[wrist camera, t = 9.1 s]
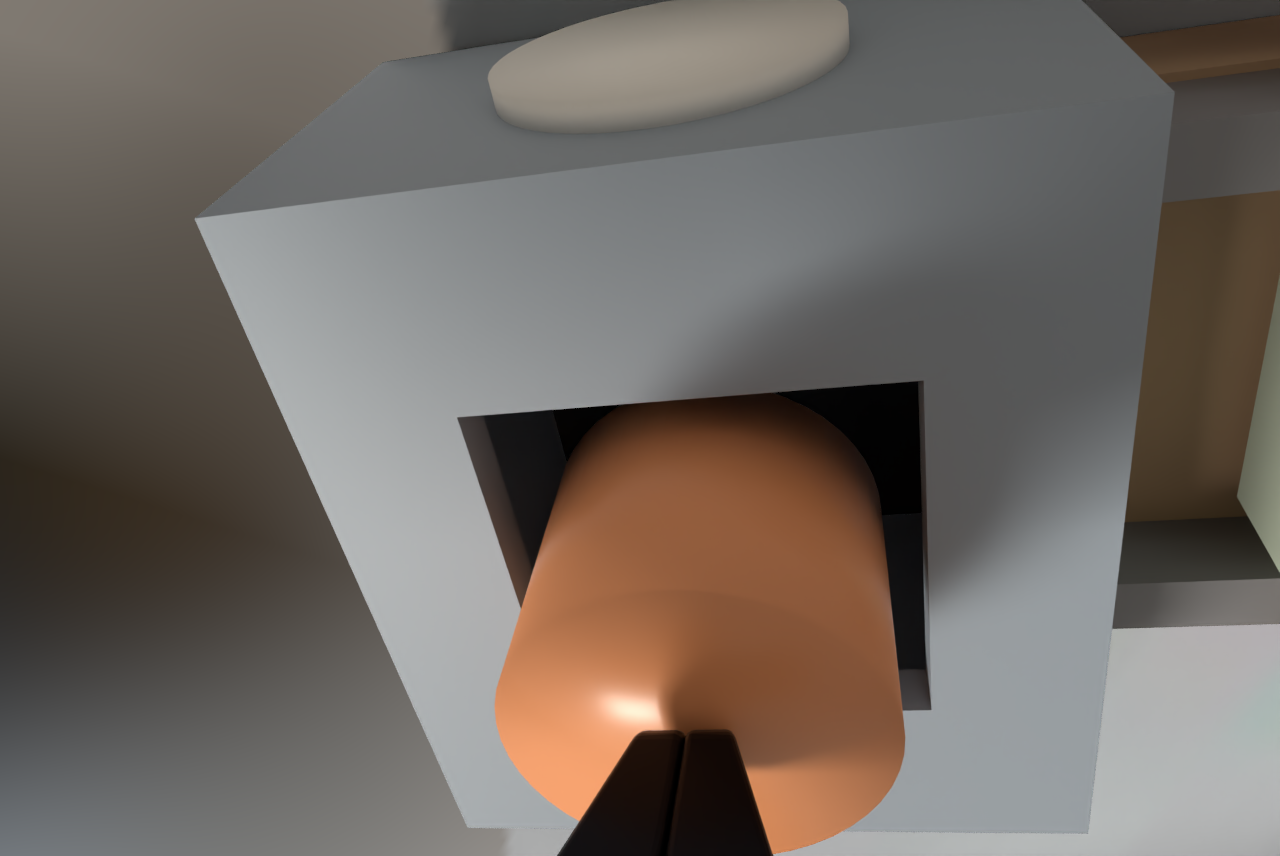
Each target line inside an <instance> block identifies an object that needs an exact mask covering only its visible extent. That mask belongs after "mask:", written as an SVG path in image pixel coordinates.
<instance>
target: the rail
mask: <svg viewBox="0 0 1280 856" xmlns="http://www.w3.org/2000/svg"><path fill="white" fill-rule="evenodd" d="M1120 38H1121V39H1122V40H1123V41H1124V42H1125V43H1126V44H1127V45H1128V46H1129V47H1130V48H1131V49H1132V50H1133V51H1134V52H1135V53H1136V54H1137V55H1138V56H1139V57H1140V58H1141V59H1142V60H1143V61H1144V62H1145V63H1146V64H1147V65H1148V66H1149V67H1150V68H1151V69H1152V70H1153V71H1154V72H1155V73H1156V74H1157V75H1158V76H1159V77H1160V78H1161V79H1162V80H1163V81H1164V82H1165V83H1166V84H1167V85H1168V86H1169V87H1170V88H1171V89H1172V90H1173V91H1174V92H1175V95H1174V103H1173V112H1172V120H1171V129H1170V137H1169V146H1168V155H1167V163H1166V172H1165V180H1164V189H1163V197H1162V206H1161V214H1160V223H1159V231H1158V240H1157V249H1156V257H1155V266H1154V274H1153V283H1152V291H1151V300H1150V308H1149V317H1148V325H1147V334H1146V343H1145V351H1144V360H1143V368H1142V377H1141V385H1140V394H1139V402H1138V411H1137V420H1136V428H1135V437H1134V445H1133V454H1132V462H1131V471H1130V479H1129V488H1128V496H1127V505H1126V514H1125V522H1124V531H1123V539H1122V548H1121V556H1120V565H1119V573H1118V582H1117V590H1116V599H1115V608H1114V616H1113V625H1112V629H1120V628H1154V627H1188V626H1222V625H1256V624H1280V572H1279V570H1278V569H1277V567H1276V565H1275V563H1274V562H1273V560H1272V558H1271V556H1270V555H1269V553H1268V551H1267V549H1266V547H1265V546H1264V544H1263V542H1262V540H1261V539H1260V537H1259V535H1258V533H1257V531H1256V530H1255V528H1254V526H1253V524H1252V523H1251V521H1250V519H1249V517H1248V516H1247V514H1246V512H1245V510H1244V508H1243V507H1242V505H1241V503H1240V501H1239V500H1238V498H1237V493H1238V488H1239V483H1240V478H1241V473H1242V468H1243V462H1244V457H1245V452H1246V447H1247V442H1248V436H1249V431H1250V426H1251V421H1252V416H1253V411H1254V405H1255V400H1256V395H1257V390H1258V385H1259V380H1260V374H1261V369H1262V364H1263V359H1264V354H1265V349H1266V343H1267V338H1268V333H1269V328H1270V323H1271V318H1272V312H1273V307H1274V302H1275V297H1276V292H1277V287H1278V281H1279V276H1280V15H1277V16H1269V17H1262V18H1255V19H1248V20H1241V21H1234V22H1227V23H1220V24H1213V25H1205V26H1198V27H1191V28H1184V29H1177V30H1170V31H1163V32H1156V33H1149V34H1141V35H1134V36H1127V37H1120Z"/></svg>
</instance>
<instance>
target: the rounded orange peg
mask: <svg viewBox="0 0 1280 856" xmlns="http://www.w3.org/2000/svg"><path fill="white" fill-rule="evenodd" d="M494 707H495V718H496V725H497V729H498V732H499V735H500V739H501V742H502V744H503V746H504V748H505V750H506V752H507V754H508V756H509V758H510V759H511V761H512V762H513V764H514V765H515V767H516V768H517V769H518V771H519V772H520V774H521V775H522V776H523V777H524V778H525V779H526V780H527V781H528V782H529V784H530V785H531V786H532V787H533V788H534V789H535V790H536V791H538V792H539V793H540V794H541V795H542V796H543V797H544V798H546V799H547V800H548V801H549V802H550V803H552V804H553V805H555V806H556V807H557V808H559V809H560V810H562V811H563V812H565V813H566V814H568V815H569V816H571V817H573V818H575V819H576V820H578V821H580V820H581V818H582V816H583V815H584V813H585V812H586V810H587V809H588V807H589V806H590V804H591V803H592V801H593V799H594V798H595V796H596V795H597V793H598V792H599V790H600V789H601V787H602V786H603V784H604V782H605V781H606V779H607V778H608V776H609V775H610V773H611V772H612V770H613V769H614V767H615V765H616V764H617V762H618V761H619V759H620V758H621V756H622V755H623V753H624V751H625V750H626V748H627V747H628V745H629V744H630V742H631V741H632V739H633V738H634V737H635V736H636V735H637V734H638V733H640V732H641V731H645V730H679V731H682V732H683V733H684V734H685V736H686V735H687V734H688V733H689V732H690V731H692V730H711V729H727V730H730V731H732V733H733V734H734V736H735V738H736V741H737V744H738V747H739V750H740V753H741V756H742V759H743V762H744V766H745V769H746V772H747V775H748V778H749V781H750V784H751V787H752V791H753V794H754V797H755V800H756V803H757V806H758V809H759V813H760V816H761V819H762V822H763V825H764V828H765V831H766V835H767V838H768V841H769V844H770V847H771V850H772V853H773V854H776V853H781V852H786V851H792V850H795V849H798V848H802V847H805V846H809V845H812V844H815V843H817V842H820V841H822V840H825V839H827V838H830V837H832V836H834V835H836V834H838V833H840V832H842V831H844V830H846V829H847V828H849V827H851V826H852V825H854V824H855V823H857V822H858V821H860V820H861V819H862V818H864V817H865V816H867V815H868V814H869V813H870V812H871V811H872V810H873V809H874V808H875V807H876V806H877V805H878V804H879V803H880V802H881V801H882V800H883V798H884V797H885V796H886V794H887V793H888V792H889V791H890V789H891V788H892V786H893V784H894V782H895V780H896V778H897V776H898V774H899V772H900V769H901V765H902V761H903V758H904V752H905V728H904V719H903V710H902V700H901V691H900V681H899V672H898V662H897V653H896V644H895V634H894V625H893V615H892V606H891V596H890V587H889V578H888V568H887V559H886V549H885V540H884V530H883V521H882V511H881V504H880V497H879V492H878V489H877V486H876V483H875V480H874V476H873V475H872V473H871V471H870V469H869V467H868V465H867V463H866V461H865V459H864V458H863V457H862V455H861V454H860V452H859V451H858V450H857V448H856V447H855V446H854V444H853V443H852V442H851V441H850V440H849V439H848V438H847V437H846V436H845V435H844V434H843V433H842V432H841V431H840V430H839V429H838V428H836V427H835V426H834V425H833V424H831V423H830V422H829V421H828V420H826V419H825V418H824V417H822V416H820V415H819V414H817V413H815V412H814V411H812V410H810V409H809V408H807V407H805V406H803V405H801V404H799V403H797V402H795V401H792V400H790V399H788V398H786V397H783V396H780V395H777V394H774V393H760V394H747V395H734V396H722V397H709V398H696V399H684V400H671V401H658V402H646V403H633V404H623V405H621V406H620V407H618V408H616V409H614V410H612V411H611V412H610V413H608V414H607V415H606V416H604V417H603V418H602V419H600V420H599V421H598V422H596V423H595V424H594V425H593V426H592V427H591V428H590V429H589V430H588V431H587V432H586V433H585V434H584V436H583V437H582V438H581V440H580V441H579V443H578V444H577V445H576V447H575V448H574V450H573V452H572V453H571V455H570V457H569V459H568V461H567V463H566V466H565V469H564V472H563V476H562V479H561V482H560V485H559V489H558V492H557V495H556V498H555V501H554V505H553V508H552V511H551V514H550V518H549V521H548V524H547V527H546V530H545V534H544V537H543V540H542V543H541V547H540V550H539V553H538V556H537V559H536V563H535V566H534V569H533V572H532V576H531V579H530V582H529V585H528V588H527V592H526V595H525V598H524V601H523V605H522V608H521V611H520V614H519V618H518V621H517V624H516V627H515V630H514V634H513V637H512V640H511V643H510V647H509V650H508V653H507V656H506V659H505V663H504V666H503V669H502V672H501V676H500V679H499V682H498V685H497V688H496V696H495V706H494Z"/></svg>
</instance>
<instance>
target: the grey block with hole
mask: <svg viewBox="0 0 1280 856" xmlns="http://www.w3.org/2000/svg"><path fill="white" fill-rule="evenodd" d="M1174 95H1175V92H1174V91H1173V90H1172V89H1171V88H1170V87H1169V86H1168V85H1167V84H1166V83H1165V82H1164V81H1163V80H1162V79H1161V78H1160V77H1159V76H1158V75H1157V74H1156V73H1155V72H1154V71H1153V70H1152V69H1151V68H1150V67H1149V66H1148V65H1147V64H1146V63H1145V62H1144V61H1143V60H1142V59H1141V58H1140V57H1139V56H1138V55H1137V54H1136V53H1135V52H1134V51H1133V50H1132V49H1131V48H1130V47H1129V46H1128V45H1127V44H1126V43H1125V42H1124V41H1123V40H1122V39H1121V38H1120V37H1119V36H1118V35H1117V34H1116V33H1115V32H1114V31H1113V30H1112V29H1111V28H1110V27H1109V26H1108V25H1107V24H1106V23H1105V22H1104V21H1103V20H1102V19H1101V18H1099V17H1098V16H1097V15H1096V14H1095V13H1094V12H1093V11H1092V10H1091V9H1090V8H1089V7H1088V6H1087V5H1086V4H1085V3H1084V2H1083V1H1082V0H672V1H666V2H660V3H655V4H650V5H645V6H641V7H636V8H632V9H628V10H623V11H619V12H615V13H611V14H608V15H604V16H600V17H597V18H593V19H590V20H587V21H583V22H580V23H577V24H574V25H571V26H568V27H565V28H562V29H560V30H557V31H554V32H552V33H549V34H546V35H544V36H542V37H539V38H533V39H526V40H520V41H514V42H507V43H501V44H495V45H488V46H482V47H476V48H469V49H463V50H457V51H450V52H444V53H438V54H431V55H426V56H419V57H413V58H406V59H400V60H394V61H387V62H383V63H381V64H380V65H379V66H378V67H377V68H375V69H374V70H373V71H372V72H371V73H370V74H368V75H367V76H366V77H365V78H363V79H362V80H361V81H360V82H359V83H357V84H356V85H355V86H354V87H353V88H351V89H350V90H349V91H348V92H347V93H345V94H344V95H343V96H342V97H340V98H339V99H338V100H337V101H336V102H335V103H333V104H332V105H331V106H330V107H329V108H327V109H326V110H325V111H324V112H322V113H321V114H320V115H319V116H318V117H316V118H315V119H314V120H313V121H312V122H310V123H309V124H308V125H307V126H306V127H304V128H303V129H302V130H301V131H299V132H298V133H297V134H296V135H295V136H293V137H292V138H291V139H290V140H289V141H288V142H286V143H285V144H284V145H283V146H281V147H280V148H279V149H278V150H277V151H275V152H274V153H273V154H272V155H271V156H270V157H268V158H267V159H266V160H265V161H263V162H262V163H261V164H260V165H259V166H257V167H256V168H255V169H254V170H253V171H251V172H250V173H249V174H248V175H247V176H245V177H244V178H243V179H242V180H240V181H239V182H238V183H237V184H236V185H235V186H233V187H232V188H231V189H230V190H228V191H227V192H226V193H225V194H224V195H222V196H221V197H220V198H219V199H218V200H216V201H215V202H214V203H213V204H212V205H210V206H209V207H208V208H207V209H206V210H204V211H203V212H202V213H201V214H199V215H198V216H197V217H196V218H195V221H196V223H197V225H198V227H199V230H200V232H201V234H202V236H203V239H204V241H205V243H206V245H207V248H208V249H209V252H210V254H211V256H212V259H213V261H214V263H215V265H216V268H217V270H218V272H219V274H220V276H221V279H222V281H223V283H224V285H225V287H226V290H227V292H228V294H229V297H230V299H231V301H232V303H233V305H234V308H235V310H236V312H237V314H238V317H239V319H240V321H241V323H242V325H243V328H244V330H245V332H246V334H247V337H248V339H249V341H250V343H251V346H252V348H253V350H254V352H255V355H256V357H257V359H258V361H259V363H260V366H261V368H262V370H263V372H264V374H265V376H266V379H267V381H268V383H269V386H270V388H271V390H272V392H273V395H274V397H275V399H276V401H277V404H278V406H279V408H280V410H281V413H282V415H283V417H284V419H285V421H286V424H287V426H288V428H289V430H290V433H291V435H292V437H293V439H294V441H295V444H296V446H297V448H298V450H299V452H300V455H301V457H302V459H303V461H304V464H305V466H306V468H307V470H308V473H309V475H310V477H311V479H312V482H313V484H314V486H315V488H316V491H317V493H318V495H319V497H320V499H321V502H322V504H323V506H324V508H325V510H326V513H327V515H328V517H329V520H330V521H331V524H332V526H333V528H334V531H335V533H336V535H337V537H338V540H339V542H340V544H341V546H342V549H343V551H344V553H345V555H346V557H347V560H348V562H349V564H350V566H351V569H352V571H353V573H354V575H355V577H356V580H357V582H358V584H359V586H360V589H361V591H362V593H363V595H364V598H365V600H366V602H367V604H368V606H369V609H370V611H371V613H372V615H373V618H374V620H375V622H376V624H377V627H378V629H379V631H380V633H381V635H382V638H383V640H384V642H385V644H386V646H387V649H388V651H389V653H390V655H391V658H392V660H393V662H394V664H395V667H396V669H397V671H398V673H399V676H400V678H401V680H402V682H403V684H404V687H405V689H406V691H407V693H408V696H409V698H410V700H411V702H412V705H413V707H414V709H415V711H416V713H417V716H418V718H419V720H420V722H421V725H422V727H423V729H424V731H425V733H426V736H427V738H428V740H429V742H430V745H431V747H432V749H433V751H434V754H435V756H436V758H437V760H438V763H439V765H440V767H441V769H442V771H443V774H444V776H445V778H446V780H447V783H448V785H449V787H450V789H451V791H452V794H453V796H454V798H455V800H456V803H457V805H458V807H459V809H460V811H461V814H462V816H463V818H464V820H465V823H466V825H467V827H468V828H540V829H575V827H576V826H577V824H578V823H579V821H578V820H576V819H575V818H573V817H571V816H569V815H568V814H566V813H565V812H563V811H562V810H560V809H559V808H557V807H556V806H555V805H553V804H552V803H550V802H549V801H548V800H547V799H546V798H544V797H543V796H542V795H541V794H540V793H539V792H538V791H536V790H535V789H534V788H533V787H532V786H531V785H530V784H529V782H528V781H527V780H526V779H525V778H524V777H523V776H522V775H521V774H520V772H519V771H518V769H517V768H516V767H515V765H514V764H513V762H512V761H511V759H510V758H509V756H508V754H507V752H506V750H505V748H504V746H503V744H502V742H501V739H500V735H499V732H498V729H497V725H496V718H495V707H494V706H495V696H496V688H497V685H498V682H499V679H500V676H501V672H502V669H503V666H504V663H505V659H506V656H507V653H508V650H509V647H510V643H511V640H512V637H513V634H514V630H515V627H516V624H517V621H518V618H519V614H520V611H521V608H522V605H523V601H524V598H525V595H526V592H527V588H528V585H529V582H530V579H531V576H532V572H533V569H534V566H535V563H536V559H537V556H538V553H539V550H540V547H541V543H542V540H543V537H544V534H545V530H546V527H547V524H548V521H549V518H550V514H551V511H552V508H553V505H554V501H555V498H556V495H557V492H558V489H559V485H560V482H561V479H562V476H563V472H564V469H565V466H566V463H567V462H566V458H565V454H564V450H563V447H562V443H561V439H560V436H559V432H558V428H557V424H556V421H555V417H554V413H553V410H557V409H570V408H582V407H595V406H608V405H620V404H633V403H646V402H658V401H671V400H684V399H696V398H709V397H722V396H734V395H747V394H760V393H772V392H785V391H798V390H810V389H823V388H835V387H848V386H861V385H873V384H886V383H899V382H911V381H918V390H919V427H920V464H921V500H922V513H914V514H895V515H882V521H883V530H884V540H885V549H886V559H887V568H888V578H889V587H890V596H891V606H892V615H893V625H894V634H895V644H896V653H897V662H898V672H899V681H900V691H901V700H902V710H903V719H904V728H905V752H904V758H903V761H902V765H901V769H900V772H899V774H898V776H897V778H896V780H895V782H894V784H893V786H892V788H891V789H890V791H889V792H888V793H887V794H886V796H885V797H884V798H883V800H882V801H881V802H880V803H879V804H878V805H877V806H876V807H875V808H874V809H873V810H872V811H871V812H870V813H869V814H868V815H867V816H865V817H864V818H862V819H861V820H860V821H858V822H857V823H855V824H854V825H852V826H851V827H849V828H847V829H846V830H844V831H861V832H968V833H1075V834H1088V830H1089V821H1090V813H1091V804H1092V796H1093V787H1094V779H1095V770H1096V761H1097V753H1098V744H1099V736H1100V727H1101V719H1102V710H1103V702H1104V693H1105V685H1106V676H1107V667H1108V659H1109V650H1110V642H1111V633H1112V625H1113V616H1114V608H1115V599H1116V590H1117V582H1118V573H1119V565H1120V556H1121V548H1122V539H1123V531H1124V522H1125V514H1126V505H1127V496H1128V488H1129V479H1130V471H1131V462H1132V454H1133V445H1134V437H1135V428H1136V420H1137V411H1138V402H1139V394H1140V385H1141V377H1142V368H1143V360H1144V351H1145V343H1146V334H1147V325H1148V317H1149V308H1150V300H1151V291H1152V283H1153V274H1154V266H1155V257H1156V249H1157V240H1158V231H1159V223H1160V214H1161V206H1162V197H1163V189H1164V180H1165V172H1166V163H1167V155H1168V146H1169V137H1170V129H1171V120H1172V112H1173V103H1174Z"/></svg>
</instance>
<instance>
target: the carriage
mask: <svg viewBox="0 0 1280 856" xmlns="http://www.w3.org/2000/svg"><path fill="white" fill-rule="evenodd" d="M1237 498H1238V500H1239V501H1240V503H1241V505H1242V507H1243V508H1244V510H1245V512H1246V514H1247V516H1248V517H1249V519H1250V521H1251V523H1252V524H1253V526H1254V528H1255V530H1256V531H1257V533H1258V535H1259V537H1260V539H1261V540H1262V542H1263V544H1264V546H1265V547H1266V549H1267V551H1268V553H1269V555H1270V556H1271V558H1272V560H1273V562H1274V563H1275V565H1276V567H1277V569H1278V570H1279V572H1280V276H1279V281H1278V287H1277V292H1276V297H1275V302H1274V307H1273V312H1272V318H1271V323H1270V328H1269V333H1268V338H1267V343H1266V349H1265V354H1264V359H1263V364H1262V369H1261V374H1260V380H1259V385H1258V390H1257V395H1256V400H1255V405H1254V411H1253V416H1252V421H1251V426H1250V431H1249V436H1248V442H1247V447H1246V452H1245V457H1244V462H1243V468H1242V473H1241V478H1240V483H1239V488H1238V493H1237Z"/></svg>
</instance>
